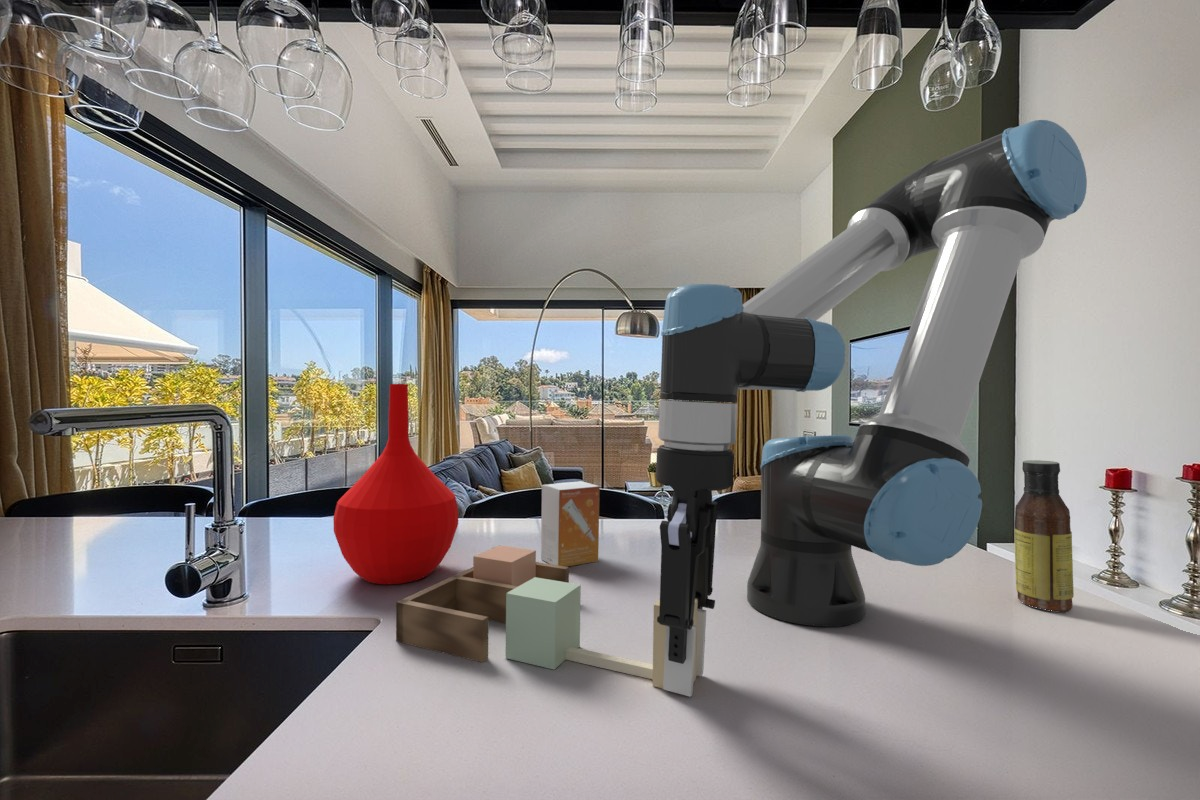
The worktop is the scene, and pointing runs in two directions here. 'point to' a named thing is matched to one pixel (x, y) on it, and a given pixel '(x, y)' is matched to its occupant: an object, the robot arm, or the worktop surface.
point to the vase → (396, 510)
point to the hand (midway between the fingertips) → (683, 680)
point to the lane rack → (459, 612)
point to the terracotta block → (505, 565)
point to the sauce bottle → (1043, 540)
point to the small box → (570, 523)
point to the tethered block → (569, 631)
